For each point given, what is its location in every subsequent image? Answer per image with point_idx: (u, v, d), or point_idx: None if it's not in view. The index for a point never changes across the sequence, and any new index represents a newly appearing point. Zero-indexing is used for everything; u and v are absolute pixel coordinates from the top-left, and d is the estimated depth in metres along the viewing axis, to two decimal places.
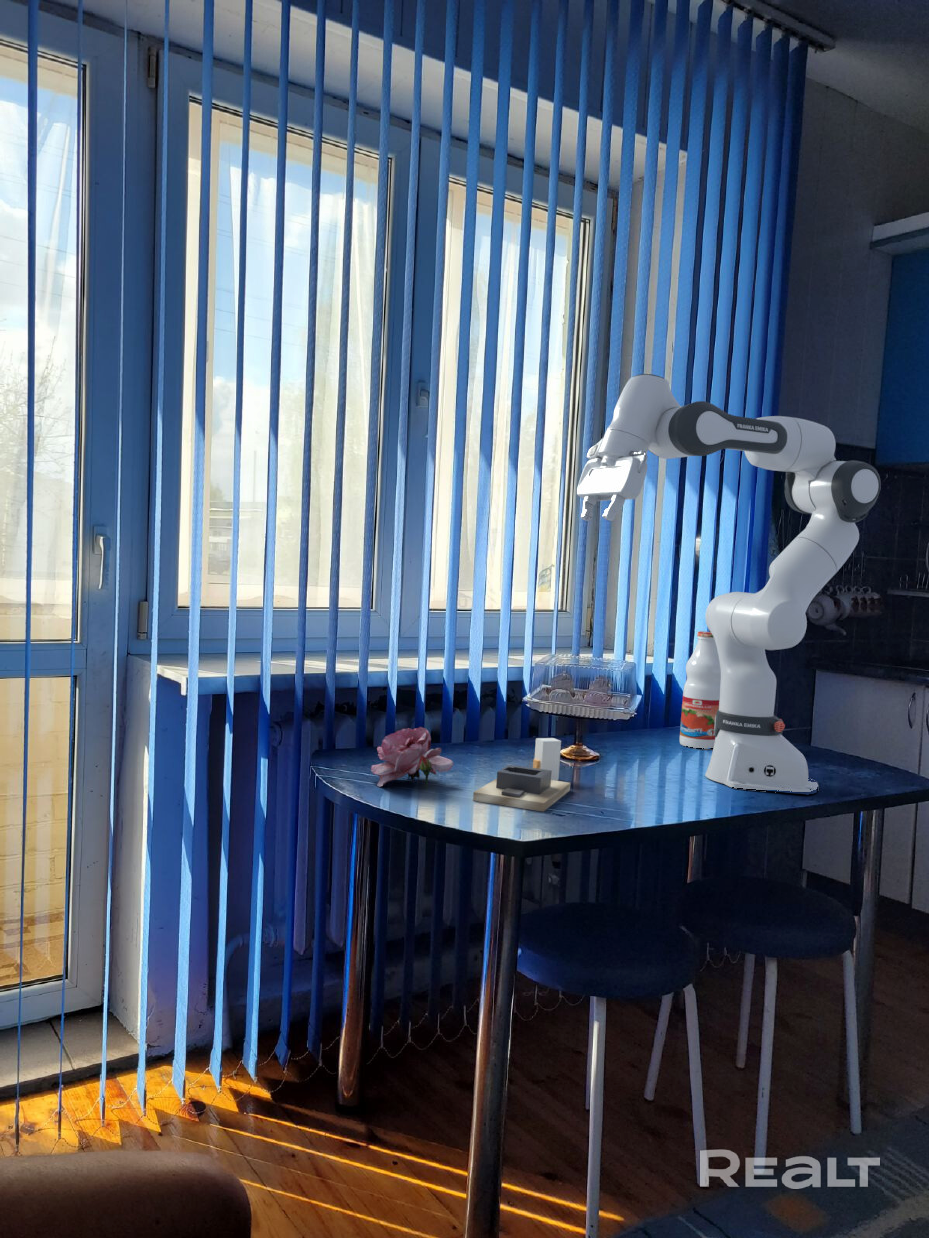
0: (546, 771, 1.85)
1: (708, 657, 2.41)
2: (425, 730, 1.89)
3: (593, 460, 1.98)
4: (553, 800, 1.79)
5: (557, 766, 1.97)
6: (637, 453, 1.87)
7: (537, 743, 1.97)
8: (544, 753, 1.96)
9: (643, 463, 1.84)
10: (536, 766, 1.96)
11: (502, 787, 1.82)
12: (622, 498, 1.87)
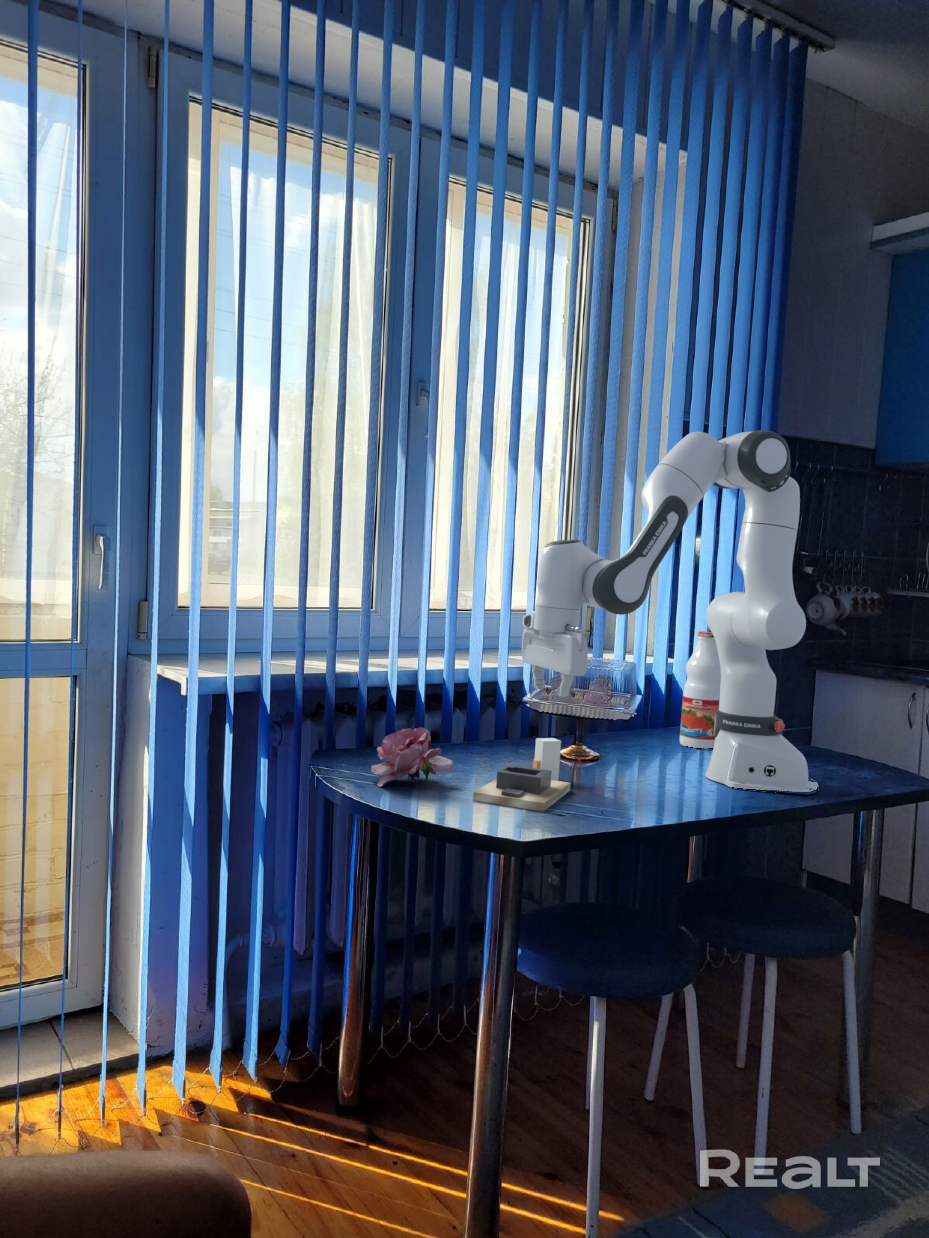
0: (546, 771, 1.85)
1: (708, 657, 2.41)
2: (425, 730, 1.89)
3: (530, 631, 2.00)
4: (553, 800, 1.79)
5: (557, 766, 1.97)
6: (573, 629, 1.89)
7: (537, 743, 1.97)
8: (544, 753, 1.96)
9: (582, 642, 1.87)
10: (536, 766, 1.96)
11: (502, 787, 1.82)
12: (571, 674, 1.91)
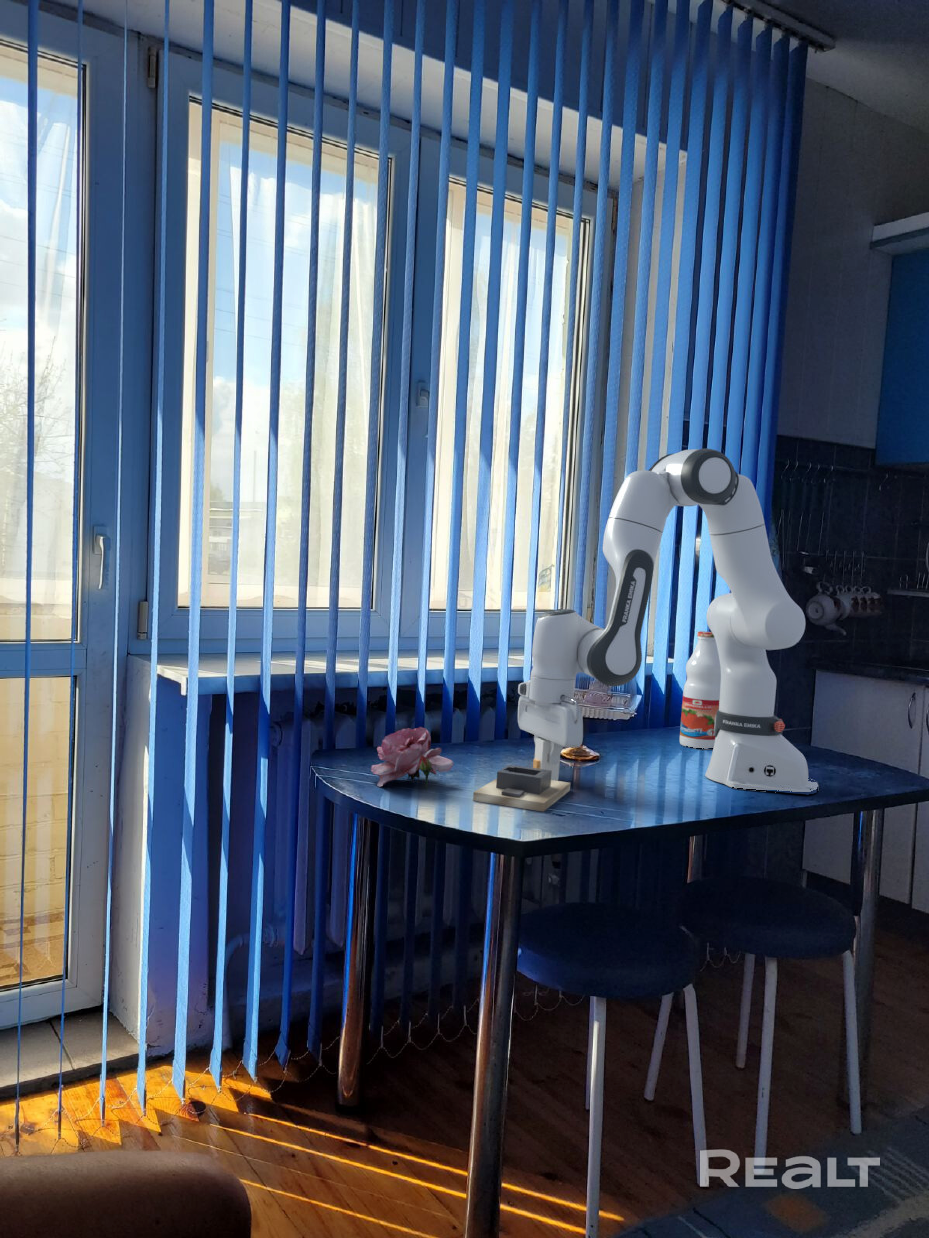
0: (546, 771, 1.85)
1: (708, 657, 2.41)
2: (425, 730, 1.89)
3: (526, 699, 2.01)
4: (553, 800, 1.79)
5: (557, 766, 1.97)
6: (568, 701, 1.90)
7: (537, 743, 1.97)
8: (544, 753, 1.96)
9: (577, 714, 1.88)
10: (536, 766, 1.96)
11: (502, 787, 1.82)
12: None
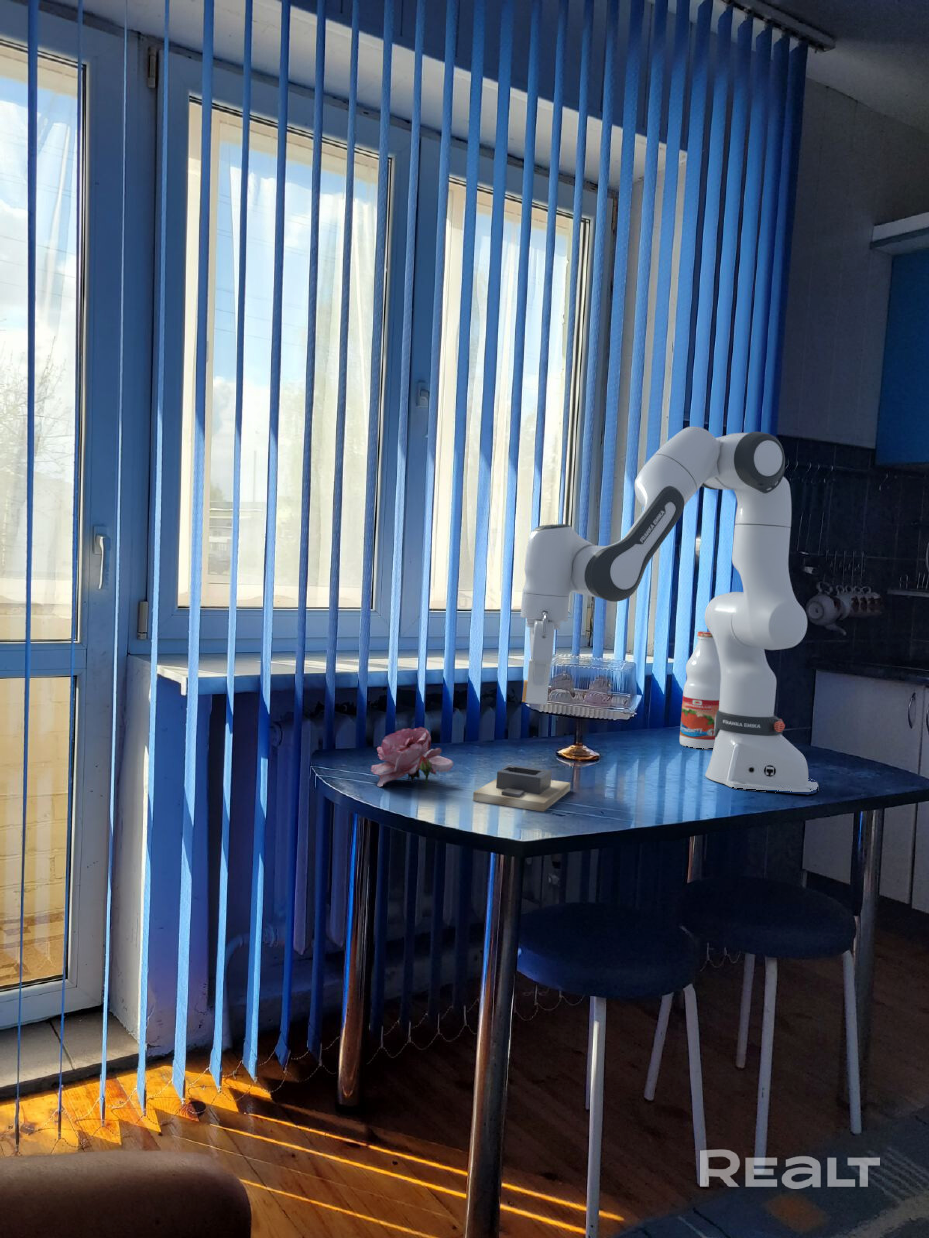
0: (546, 771, 1.85)
1: (708, 657, 2.41)
2: (425, 730, 1.89)
3: None
4: (553, 800, 1.79)
5: (546, 689, 1.88)
6: None
7: None
8: (530, 672, 1.88)
9: (544, 628, 1.78)
10: None
11: (502, 787, 1.82)
12: None
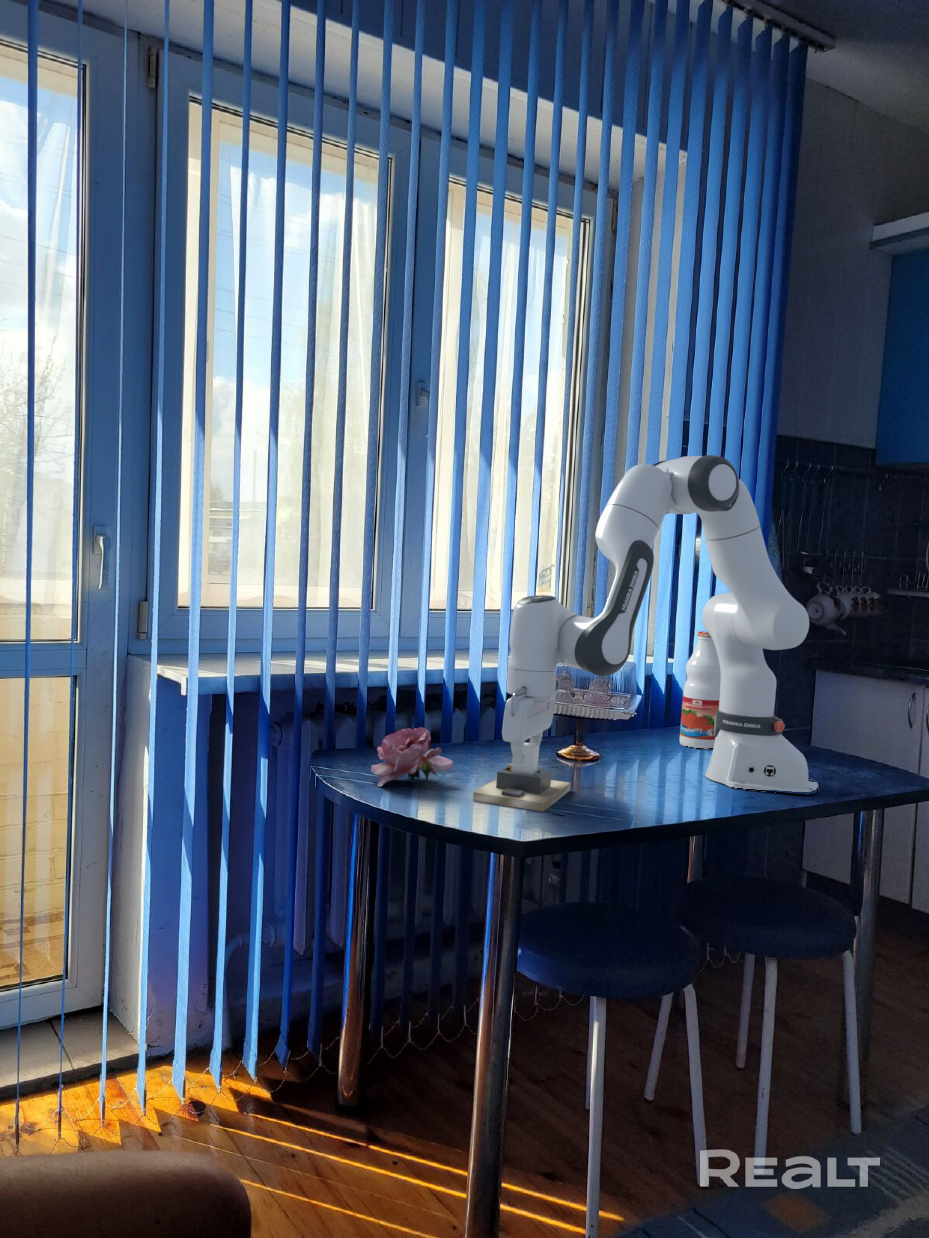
0: (546, 771, 1.85)
1: (708, 657, 2.41)
2: (425, 730, 1.89)
3: None
4: (553, 800, 1.79)
5: (530, 774, 1.82)
6: None
7: None
8: None
9: (512, 706, 1.73)
10: (510, 770, 1.84)
11: (502, 787, 1.82)
12: None
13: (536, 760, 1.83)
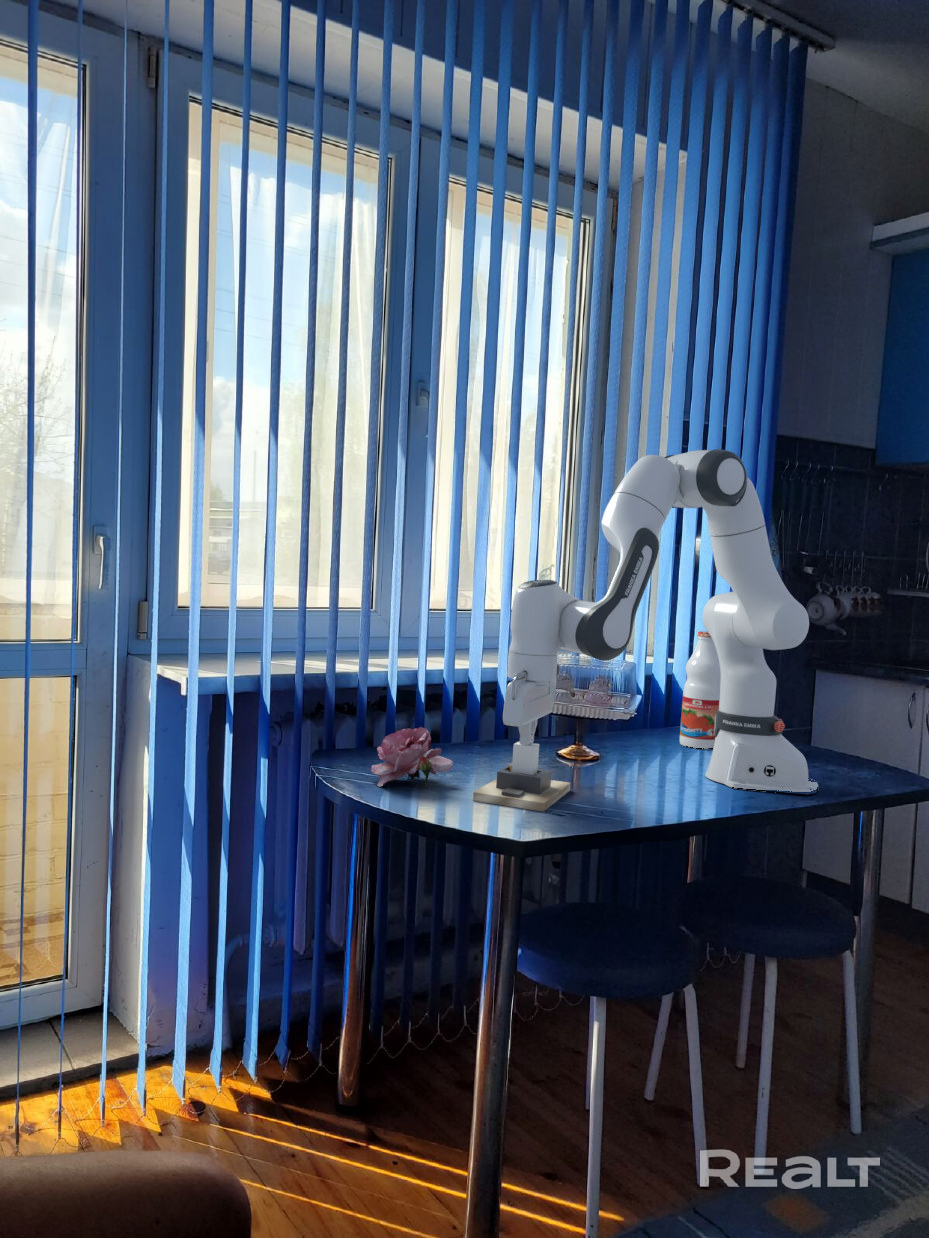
0: (546, 771, 1.85)
1: (708, 657, 2.41)
2: (425, 730, 1.89)
3: None
4: (553, 800, 1.79)
5: (530, 774, 1.82)
6: None
7: None
8: (515, 756, 1.83)
9: (513, 690, 1.73)
10: (510, 770, 1.84)
11: (502, 787, 1.82)
12: None
13: (536, 760, 1.83)
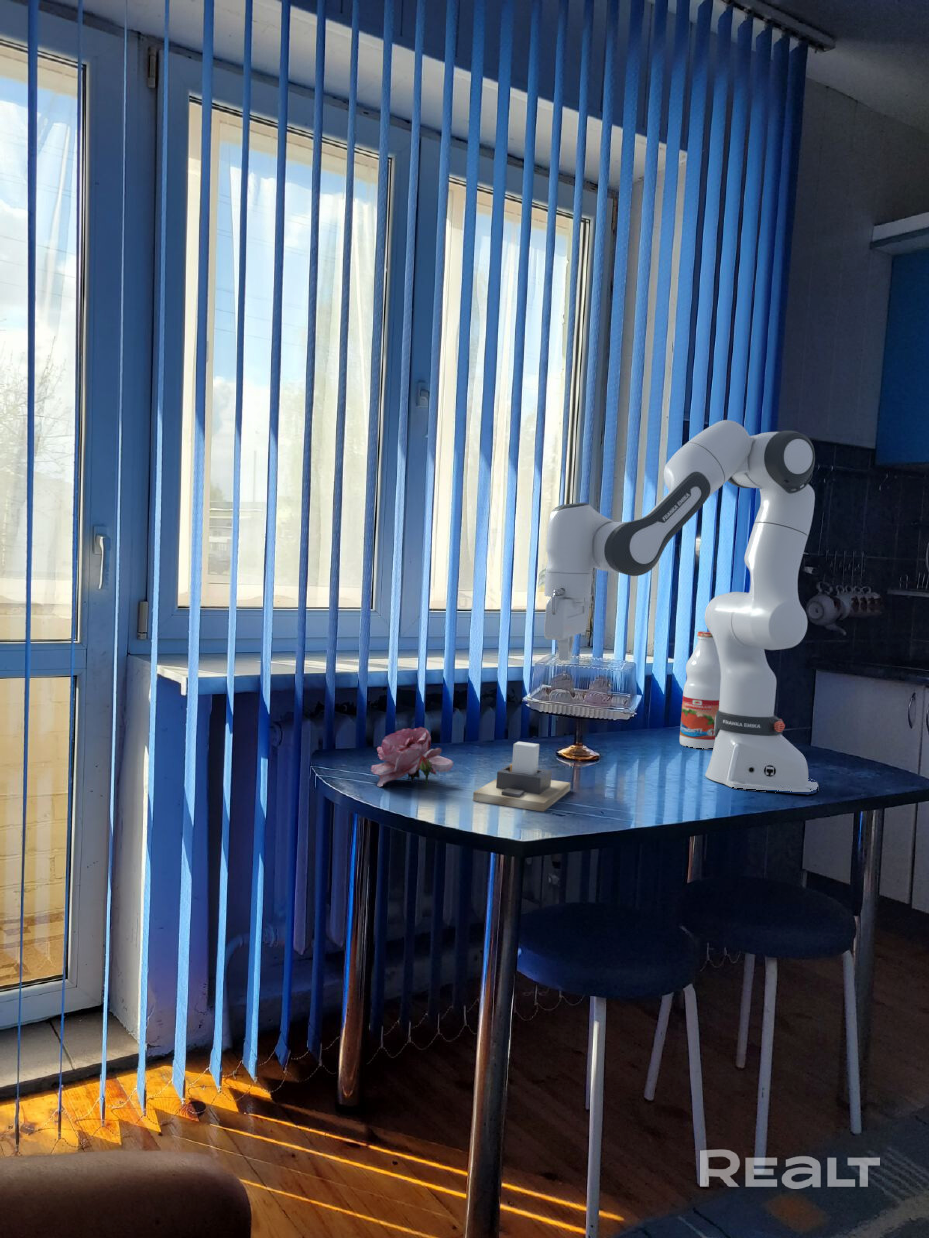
0: (546, 771, 1.85)
1: (708, 657, 2.41)
2: (425, 730, 1.89)
3: None
4: (553, 800, 1.79)
5: (530, 774, 1.82)
6: None
7: None
8: (515, 756, 1.83)
9: (553, 605, 1.83)
10: (510, 770, 1.84)
11: (502, 787, 1.82)
12: (564, 638, 1.91)
13: (536, 760, 1.83)
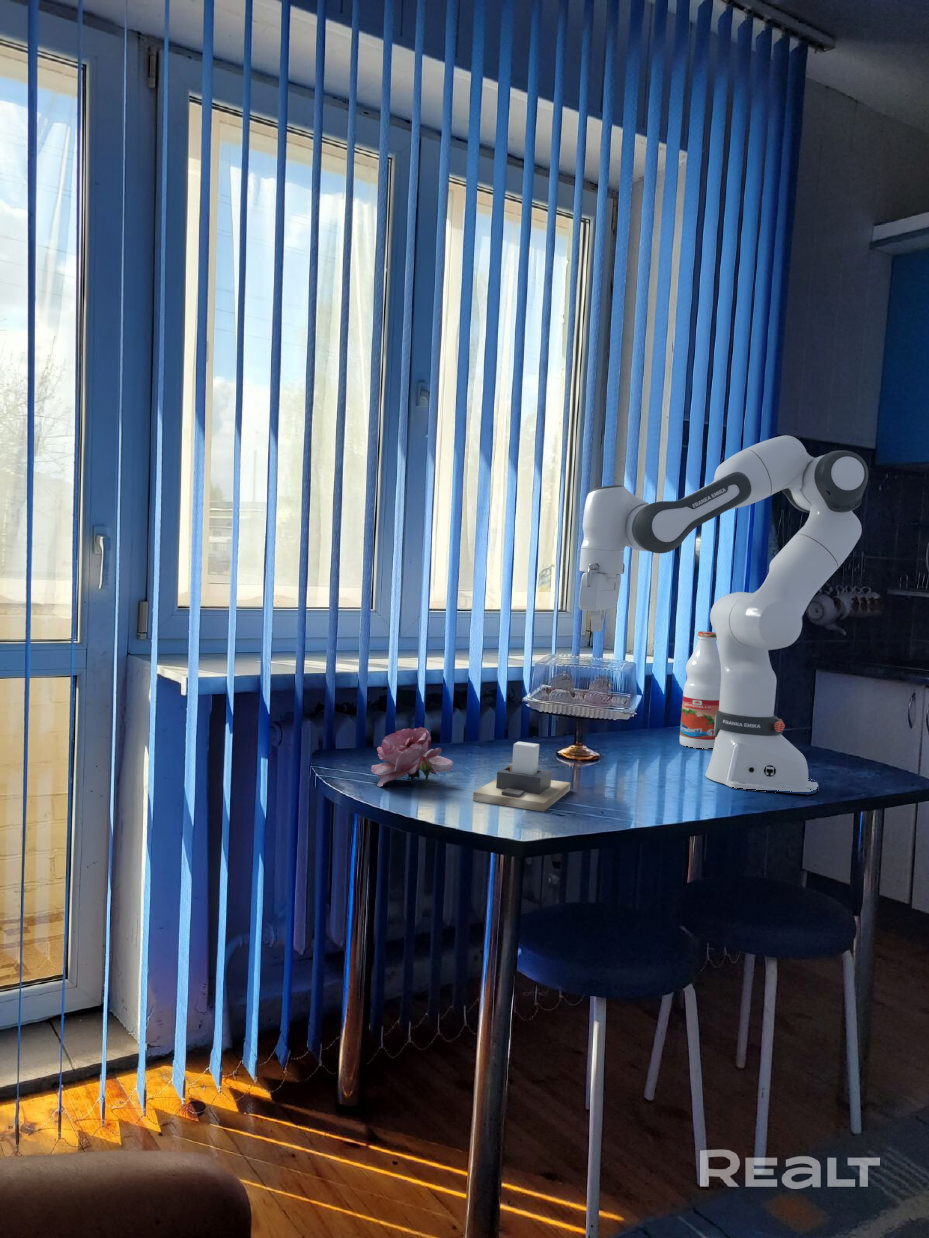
0: (546, 771, 1.85)
1: (708, 657, 2.41)
2: (425, 730, 1.89)
3: None
4: (553, 800, 1.79)
5: (530, 774, 1.82)
6: None
7: None
8: (515, 756, 1.83)
9: (588, 578, 1.96)
10: (510, 770, 1.84)
11: (502, 787, 1.82)
12: (596, 610, 2.04)
13: (536, 760, 1.83)
